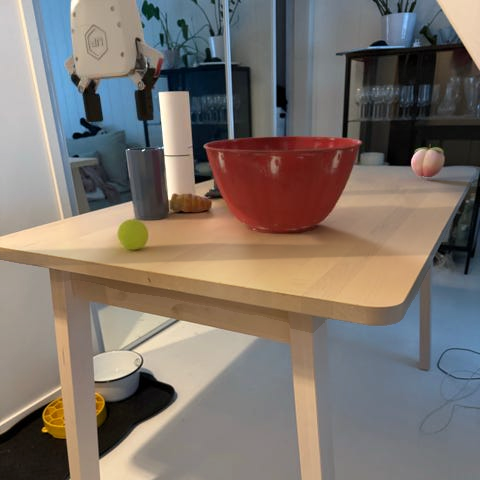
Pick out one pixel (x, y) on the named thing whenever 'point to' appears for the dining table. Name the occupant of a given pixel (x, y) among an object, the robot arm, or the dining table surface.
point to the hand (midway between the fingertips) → (119, 121)
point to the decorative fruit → (428, 161)
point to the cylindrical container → (177, 142)
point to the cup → (148, 183)
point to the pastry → (189, 203)
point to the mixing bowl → (282, 179)
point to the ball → (132, 234)
